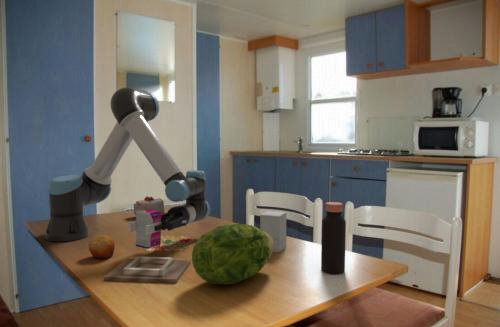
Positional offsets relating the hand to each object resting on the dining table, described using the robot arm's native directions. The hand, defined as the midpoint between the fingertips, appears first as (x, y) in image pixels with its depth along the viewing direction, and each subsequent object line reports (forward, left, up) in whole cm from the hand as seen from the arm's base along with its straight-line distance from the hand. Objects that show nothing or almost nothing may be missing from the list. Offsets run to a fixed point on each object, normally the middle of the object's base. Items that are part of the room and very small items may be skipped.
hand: (137, 229), depth 122 cm
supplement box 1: (+2, +5, -7) cm, 8 cm away
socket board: (+7, -8, -10) cm, 15 cm away
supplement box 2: (+42, +19, -11) cm, 47 cm away
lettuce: (+33, -11, -11) cm, 36 cm away
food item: (-20, +68, -11) cm, 72 cm away
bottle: (+60, -2, -11) cm, 61 cm away
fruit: (-13, +4, -11) cm, 18 cm away
